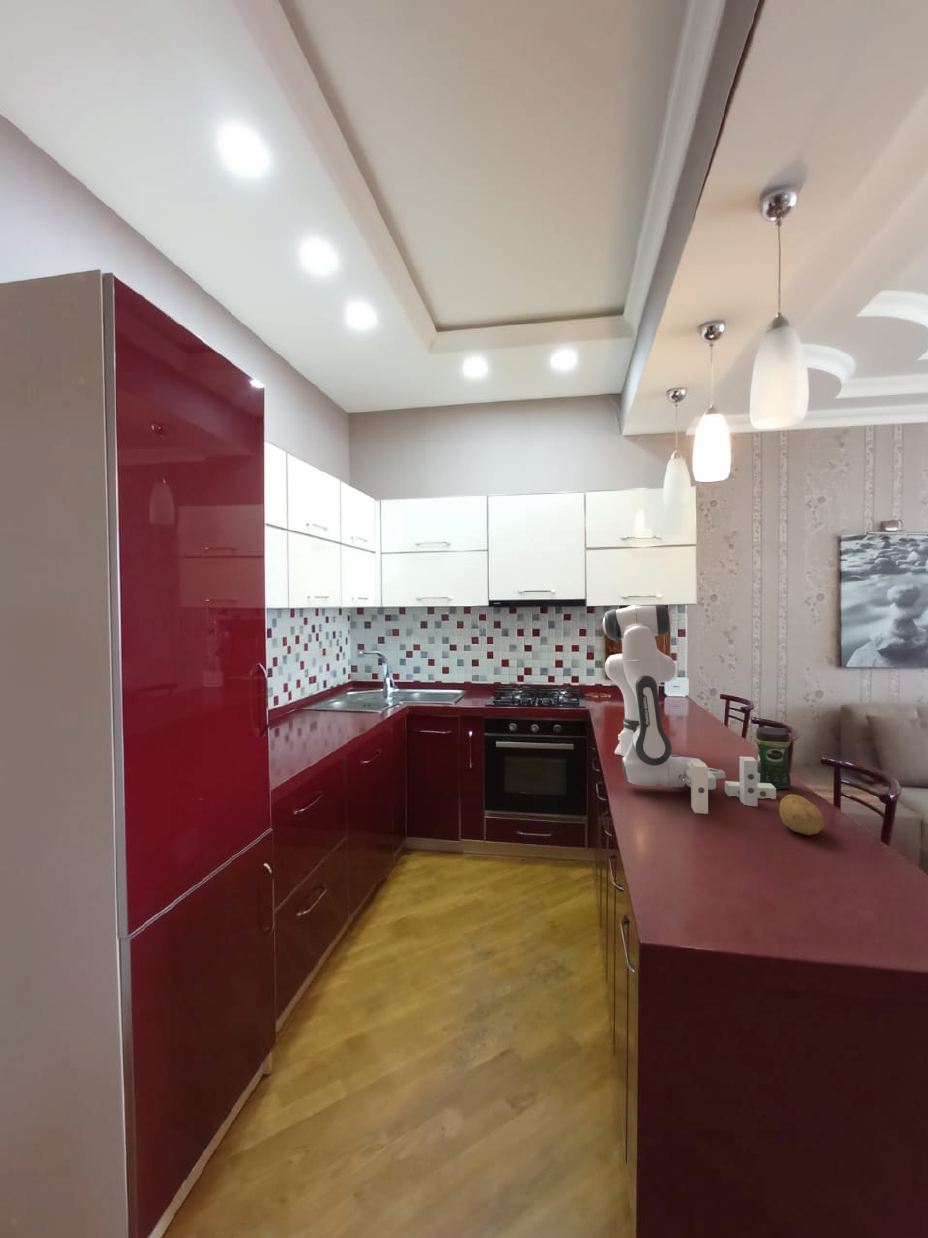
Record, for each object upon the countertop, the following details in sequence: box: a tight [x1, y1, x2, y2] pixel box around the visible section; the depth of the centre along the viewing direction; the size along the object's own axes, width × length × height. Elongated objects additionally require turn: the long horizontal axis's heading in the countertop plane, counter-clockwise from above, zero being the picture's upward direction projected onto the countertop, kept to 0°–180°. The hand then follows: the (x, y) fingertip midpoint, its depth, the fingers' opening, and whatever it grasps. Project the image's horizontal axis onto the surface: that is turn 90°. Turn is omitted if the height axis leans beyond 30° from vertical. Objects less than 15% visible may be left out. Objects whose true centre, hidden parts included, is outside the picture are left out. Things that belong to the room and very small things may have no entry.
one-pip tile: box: [690, 761, 709, 815], centre depth 153 cm, size 5×4×13 cm
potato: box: [778, 794, 825, 837], centre depth 138 cm, size 10×14×8 cm
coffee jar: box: [755, 726, 792, 790], centre depth 172 cm, size 10×8×19 cm
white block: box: [724, 780, 777, 800], centre depth 165 cm, size 5×4×13 cm
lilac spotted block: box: [739, 756, 758, 807], centre depth 158 cm, size 5×4×13 cm
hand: (724, 774), depth 166 cm, fingers closed
